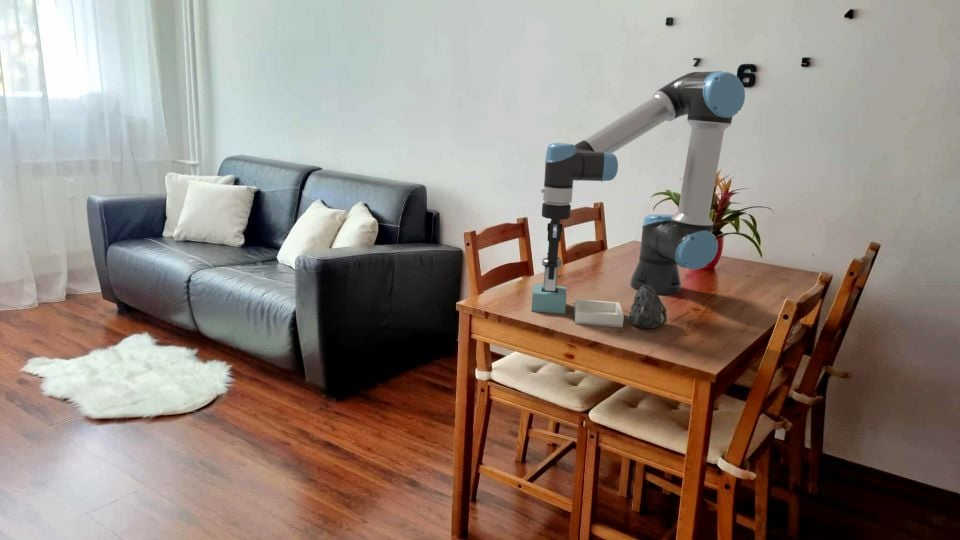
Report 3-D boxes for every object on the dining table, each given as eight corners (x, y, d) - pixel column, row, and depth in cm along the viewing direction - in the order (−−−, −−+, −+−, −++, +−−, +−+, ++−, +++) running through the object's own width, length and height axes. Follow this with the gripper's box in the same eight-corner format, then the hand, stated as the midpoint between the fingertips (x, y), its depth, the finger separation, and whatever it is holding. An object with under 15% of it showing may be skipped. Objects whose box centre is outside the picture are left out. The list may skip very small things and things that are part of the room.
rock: (622, 305, 181) (639, 277, 176) (654, 316, 183) (672, 288, 177) (628, 335, 171) (647, 307, 166) (662, 346, 173) (681, 318, 167)
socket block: (564, 303, 189) (566, 286, 188) (565, 313, 180) (566, 295, 179) (532, 301, 190) (533, 284, 189) (531, 311, 181) (532, 293, 180)
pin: (557, 305, 187) (561, 258, 184) (557, 311, 182) (561, 263, 179) (539, 303, 188) (542, 257, 184) (538, 309, 183) (542, 261, 179)
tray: (618, 313, 184) (619, 302, 183) (622, 327, 172) (623, 316, 171) (573, 309, 185) (574, 298, 184) (575, 323, 173) (576, 312, 172)
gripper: (543, 196, 187) (537, 277, 193) (541, 207, 169) (535, 295, 175) (570, 198, 186) (563, 279, 192) (572, 209, 168) (564, 298, 174)
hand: (549, 286), depth 184 cm, fingers open, 6 cm apart
